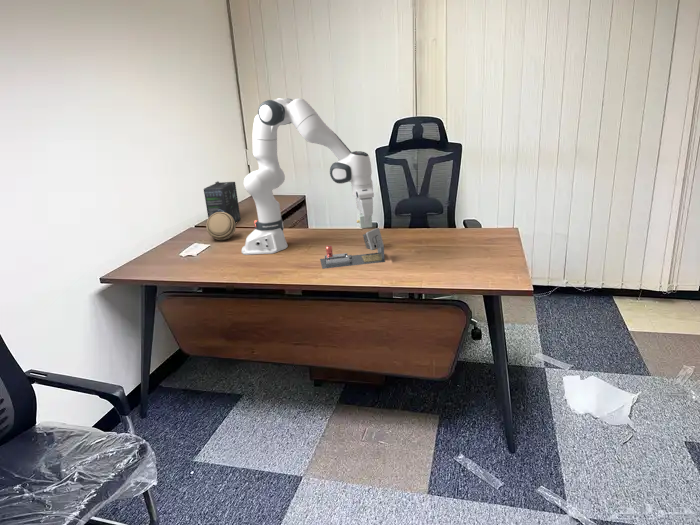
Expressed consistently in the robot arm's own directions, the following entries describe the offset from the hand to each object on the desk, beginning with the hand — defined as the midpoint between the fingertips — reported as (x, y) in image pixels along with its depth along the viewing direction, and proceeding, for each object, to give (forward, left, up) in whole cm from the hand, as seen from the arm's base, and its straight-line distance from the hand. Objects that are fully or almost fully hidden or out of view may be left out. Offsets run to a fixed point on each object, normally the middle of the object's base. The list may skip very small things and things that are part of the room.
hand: (365, 222), depth 208 cm
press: (-7, -3, -17) cm, 18 cm away
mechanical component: (-69, +56, -17) cm, 90 cm away
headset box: (-71, +89, -17) cm, 115 cm away
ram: (-13, -3, -15) cm, 20 cm away
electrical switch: (+5, +13, -17) cm, 22 cm away
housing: (0, 0, -2) cm, 2 cm away
